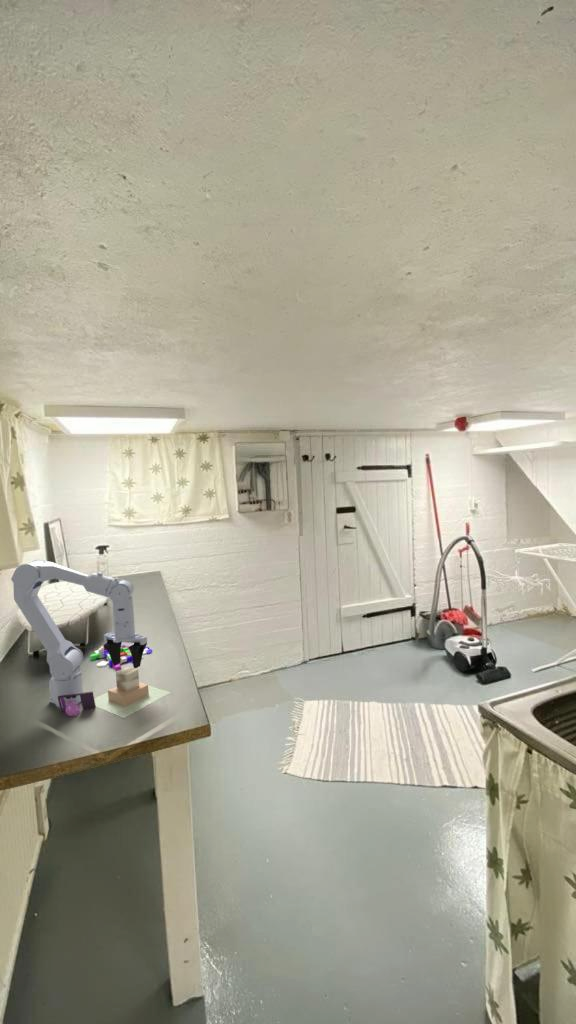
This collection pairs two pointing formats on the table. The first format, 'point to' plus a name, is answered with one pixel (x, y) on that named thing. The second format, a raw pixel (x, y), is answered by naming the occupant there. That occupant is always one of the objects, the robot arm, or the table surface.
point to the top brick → (127, 679)
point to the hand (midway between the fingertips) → (126, 665)
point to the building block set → (104, 653)
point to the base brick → (128, 695)
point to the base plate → (124, 711)
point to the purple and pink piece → (72, 707)
